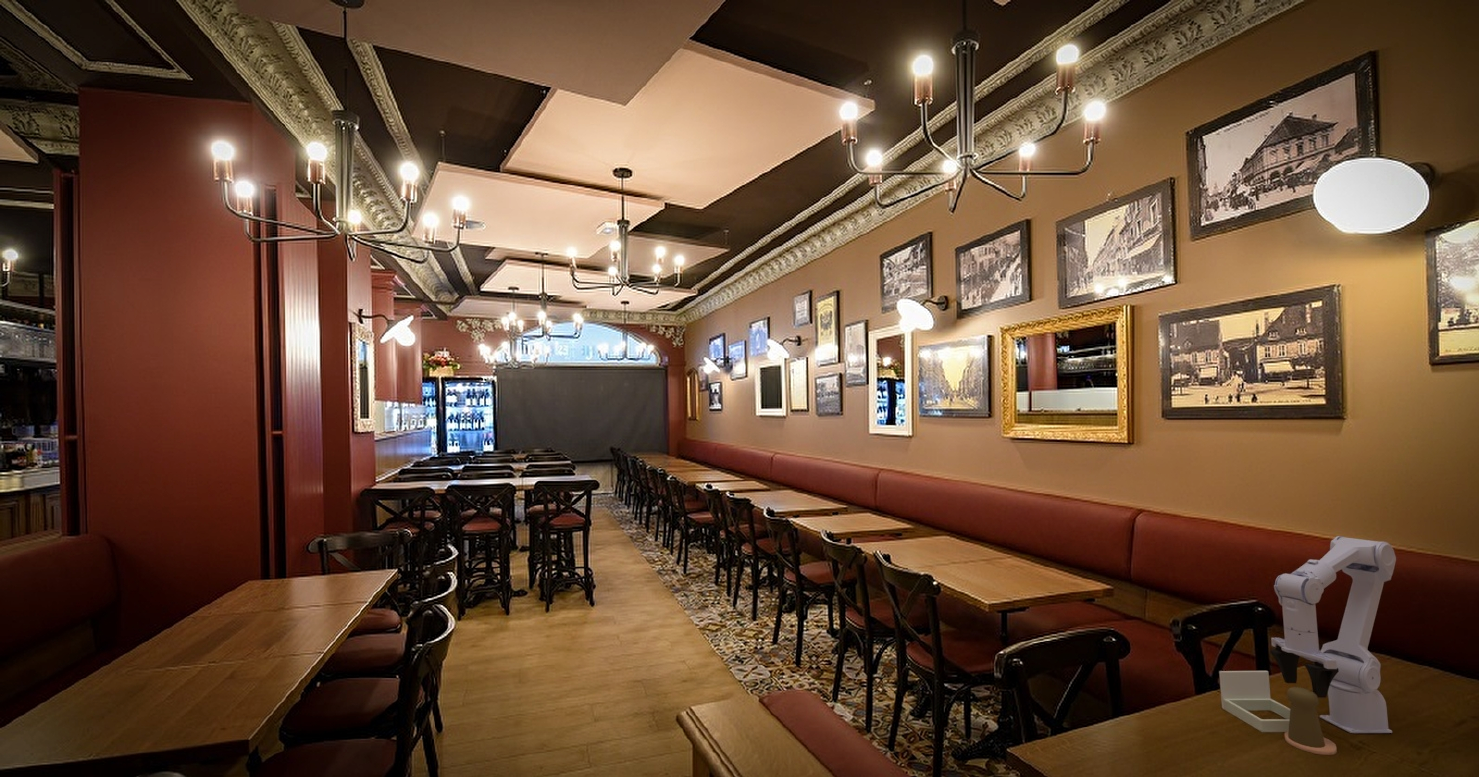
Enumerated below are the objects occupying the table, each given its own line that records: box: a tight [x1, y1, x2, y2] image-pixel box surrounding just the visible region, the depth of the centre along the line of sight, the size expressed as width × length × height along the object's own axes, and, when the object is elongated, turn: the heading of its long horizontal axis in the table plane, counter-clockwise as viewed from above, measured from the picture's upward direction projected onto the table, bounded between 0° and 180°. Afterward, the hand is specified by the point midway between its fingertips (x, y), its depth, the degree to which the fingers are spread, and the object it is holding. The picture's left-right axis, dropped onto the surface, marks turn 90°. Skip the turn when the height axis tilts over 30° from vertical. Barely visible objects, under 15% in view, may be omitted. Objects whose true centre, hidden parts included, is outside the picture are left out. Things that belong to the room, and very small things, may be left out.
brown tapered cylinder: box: [1286, 686, 1325, 748], centre depth 135 cm, size 6×6×11 cm
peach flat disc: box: [1284, 731, 1338, 756], centre depth 134 cm, size 8×8×1 cm
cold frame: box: [1218, 670, 1291, 733], centre depth 146 cm, size 12×12×9 cm
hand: (1305, 689), depth 138 cm, fingers open, 7 cm apart
